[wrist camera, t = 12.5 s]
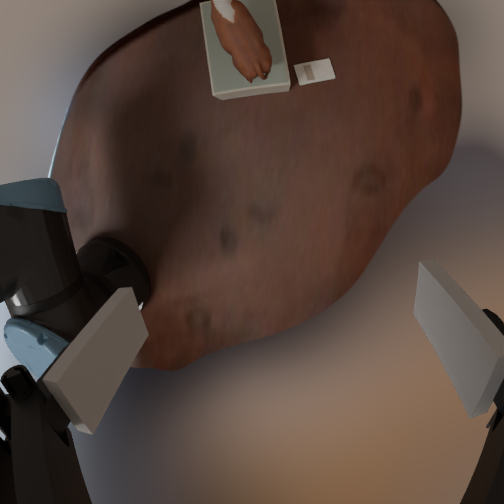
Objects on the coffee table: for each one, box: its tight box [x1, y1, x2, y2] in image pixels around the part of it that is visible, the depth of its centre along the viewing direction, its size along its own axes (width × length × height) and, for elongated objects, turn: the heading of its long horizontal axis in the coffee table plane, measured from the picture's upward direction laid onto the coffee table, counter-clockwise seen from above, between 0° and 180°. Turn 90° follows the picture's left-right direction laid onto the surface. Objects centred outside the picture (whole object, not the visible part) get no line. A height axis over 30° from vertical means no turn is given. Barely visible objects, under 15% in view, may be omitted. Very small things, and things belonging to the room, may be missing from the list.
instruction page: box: [293, 58, 336, 85], centre depth 35 cm, size 5×3×1 cm, turn 106°
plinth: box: [200, 0, 291, 100], centre depth 32 cm, size 9×13×6 cm
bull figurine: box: [211, 0, 272, 83], centre depth 25 cm, size 4×13×8 cm, turn 18°
